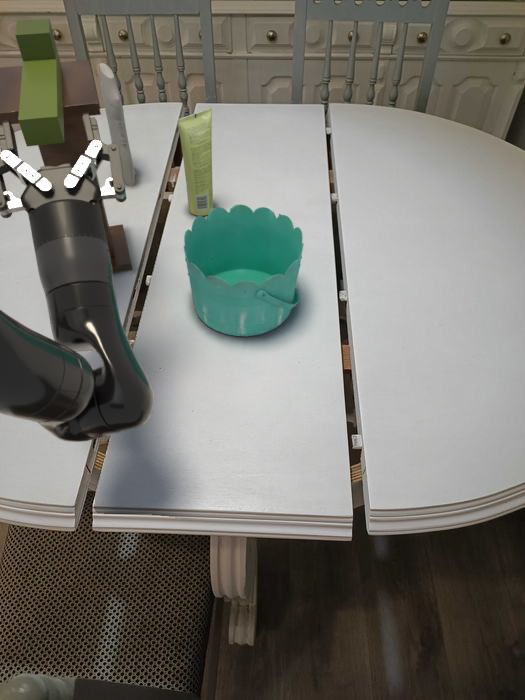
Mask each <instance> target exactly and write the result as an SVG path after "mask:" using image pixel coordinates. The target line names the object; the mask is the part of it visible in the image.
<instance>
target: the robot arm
mask: <svg viewBox="0 0 525 700" xmlns="http://www.w3.org/2000/svg"><path fill="white" fill-rule="evenodd" d="M83 118H84V123H85V128H86V133H87V138H88V142H89V147H88V149H87V150H86V152H85V154H82V155H81V156H80V158H79V160H78V161H77V163H76V165H75V166H72V165H70V163H67V164H61V165H59V166H56V167H54V166H44V165H43V166H40V167H39V168H40V169H38V170H35V169H34V168H33V167H31V166H30V165H29V164H28V163H27V162H25V161H24V160H21V159H20V157H19V156H20V155H19V151H18V145H17V139H16V135H15V130H14V127H13V126H12V125H13V124H11V123H10V121H2V123H3V125H2V126H0V216H1V217H2V218H3V219H9V218H11V217H12V215H13V213H18V212H22V211H25V212H26V213H27V216H28V220H29V221H28V222H29V226H30V231H31V237H32V243H33V249H34V252H35V253H34V254H35V259H36V266H37V271H38V276H39V280H40V284H41V286H42V289H43V292H44V296H45V300H46V306H47V307H46V308H47V311H48V318H49V323H50V328H51V333H52V337H53V339H52V338H51V337H48V336H46V335H44V334H41V333H40V332H38V331H35V330H33V329H31V328H29V327H27V326H26V325H24V324H22V323H21V322H20V321H18V320H17V319H15V318H13V317H11V316H10V315H9V314H8V313H6V312H4V311H3V310H1V309H0V414H1V415H3V416H8V417H12V418H16V419H21V420H25V421H29V422H34V423H37V424H38V425H39V426H40V427H42V429H45V430H46V432H49V433H50V434H51V435H52V436H54V437H55V438H57V439H58V440H61V441H62V442H69V443H83V442H89V441H92V440H96V439H100V438H104V437H107V436H111V435H116V434H119V433H123V432H126V431H127V432H128V431H131V430H134V429H137V428H140V427H142V426H144V425H145V424H146V423H147V422H148V420H149V419H150V417H151V416H152V413H153V410H154V406H155V405H154V403H155V395H154V389H153V386H152V383H151V381H150V379H149V377H148V374H147V372H146V371H145V369H144V367H143V366H142V364H141V362H140V360H139V359H138V357H137V355H136V353H135V351H134V349H133V347H132V344H131V341H130V340H129V338H128V336H127V333H126V330H125V329H124V326H123V323H122V320H121V316H120V311H119V305H118V301H117V300H118V299H117V295H116V291H115V286H114V285H115V284H114V273H113V270H112V263H111V255H110V252H109V249H108V244H107V239H106V234H105V229H104V224H103V219H102V214H101V209H100V204H101V201H102V199H103V200H112V199H115V200H116V201H117V202H118V203H124V202H126V200H127V192H126V191H127V190H126V183H125V182H124V177H123V170H122V163H121V156H120V150H119V146H118V145H117V144H115V143H112V142H111V143H110V144H106V143H104V142H103V141H102V138H101V134H100V130H99V125H98V121H97V119H96V117H95V116H92V117H91V116H89V113H83ZM103 161H105V162H109V166H110V171H111V172H110V173H111V176H110V177H108V178H106V180H105V185H104V186H103V187H101V186H100V187H99V186H98V185H97V184H96V183H95V182H94V181H93V180H94V178H95V176H96V174H97V175H98V170H99V168H100V166H101V165H102V163H103ZM7 173H11V175H13V176H14V177H16V179H18V180H19V181H20V182H21V183H22V185H23V186H25V188H24V190H23V191H22V194H21V195H20V198H17V197H15V195H14V194H13V192H12V191H9V190H8V191H7V186H6V182H5V178H4V174H7ZM79 352H96V354H97V355H98V357H99V359H100V360H101V364H102V366H100V367H96V368H93V367H92V365H91V363H90V362H89V361H88V360H87V359H86V357H84V355H83V356H82V355H81V354H80V353H79Z"/></svg>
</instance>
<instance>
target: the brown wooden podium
mask: <svg viewBox="0 0 525 700" xmlns="http://www.w3.org/2000/svg"><path fill="white" fill-rule="evenodd" d="M60 63H61V67H62V89H63V117H64V143H57V144H47V145H37V146H38V151H39V153H40V156H41V160H42V162H43V166H54V167H56V166H59V165H61V164H67V163H70V165H72V166H75V165H76V163H77V161H78V160H79V158H80V156H81V155H82V154H85V152H86V150H87V149H88V147H89V142H88V138H87V133H86V128H85V123H84V118H83V113H89V116H90V117H91V116H92V117H94V116H100V115H102V113H101V109H100V103H99V98H98V95H97V91H96V85H95V81H94V76H93V72H92V68H91V63H90V60H89V59H83V60H69V61H62V62H61V61H60ZM22 68H23V65H14V66H13V65H12V66H3V67H0V127H2V126H3V123H2V121H10V123H11V125H20V124H19V121H18V117H19V104H20V92H21V80H22ZM93 181H94V182H95V183H96V184H97V185H98V186H99V187H100V188H101V186H100V182H99V177H98V173H97V174H96V176H95V178H94V180H93ZM100 209H101V214H102V219H103V224H104V229H105V234H106V239H107V244H108V249H109V252H110V255H111V263H112V270H113V274H116V273H121V272H128V271H133V265H132V261H131V256H130V251H129V247H128V242H127V238H126V233H125V229H124V225H123V223H122V224H116V225H109V220H108V216H107V212H106V207H105V203H104V199H102V201H101V204H100Z"/></svg>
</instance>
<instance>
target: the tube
mask: <svg viewBox="0 0 525 700" xmlns="http://www.w3.org/2000/svg"><path fill="white" fill-rule="evenodd" d="M212 123H213V109H212V107H209V108H207V109H204V110H201V111H198V112H196V113H193V114H190V115H186V116H183V117H181V118H178V119H177V127H178V132H179V139H180V144H181V145H180V146H181V152H182V160H183V168H184V175H185V187H186V192H187V193H186V194H187V204H188V205H187V206H188V211H189V213H190V214H192V215H195V216H196V217H198V216H202V217H204V216H208V214H209V212H210V211H211V210H213V209H214V188H213V184H214V183H213V140H212V139H213V138H212V137H213V125H212Z"/></svg>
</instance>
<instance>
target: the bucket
mask: <svg viewBox="0 0 525 700" xmlns="http://www.w3.org/2000/svg"><path fill="white" fill-rule="evenodd" d="M183 236H184V237H183V241H184V245H183V251H184V256H185V257H184V260H185V262H186V268H187V276H188V279H189V284H190V291H191V296H192V300H193V301H192V302H193V306H194V310H195V313H196V314H197V317H199V318H200V320H201V321H202V322H203V323H204V324H205V325H206V326H207V327H209V328H210V329H212V330H214V331H215V332H219V333H222V334H224V335H229V336H233V337H253V336H259V335H263V334H265V333H269V332H270V331H273V330H274V329H276V328H278V327H280V326H281V324H283V323H284V322H285V321H287V318H288V317H289V315H290V314H291V312H292V309H293V308H294V307H295V306H297V305H298V304H299V302H300V295H299V292H298V290H297V287H296V285H297V282H298V277H299V271H300V268H301V260H302V258H303V257H302V256H303V251H304V245H305V244H304V243H303V242H304V241H303V232H302V229H301V228H300V227H298V226H296V227H295V225H294V222H293V221H292V219H291V218H290V217H289V216H288V215H285V214H281V213H278V216H276V213H275V211H273V210H272V209H270V208H269V207H265V206H263V207H262V206H261V207H257V208H255V210H254V211H253V210H252V208H251V207H250V206H248V205H246V204H234V205H233V206H232V207H231V208H230V209H229V211H228V210H226V208H224V207H219V206H217V207H213V210H211V211H210V212H209V214H208V215H206V217H204V216H196V217H194V219H193V221H192V224H191V230H190V229H186V230H185V232H184V235H183Z"/></svg>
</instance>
